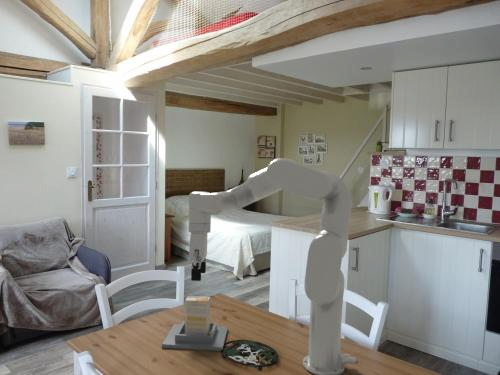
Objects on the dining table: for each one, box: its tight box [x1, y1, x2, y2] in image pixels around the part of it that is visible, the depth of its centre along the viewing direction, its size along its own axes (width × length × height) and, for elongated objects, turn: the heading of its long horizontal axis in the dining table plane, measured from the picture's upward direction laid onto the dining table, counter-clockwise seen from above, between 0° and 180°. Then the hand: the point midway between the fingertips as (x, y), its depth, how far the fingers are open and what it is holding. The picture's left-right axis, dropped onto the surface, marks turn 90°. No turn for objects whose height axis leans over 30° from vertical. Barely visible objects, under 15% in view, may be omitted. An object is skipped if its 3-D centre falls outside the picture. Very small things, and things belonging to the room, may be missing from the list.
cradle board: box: [161, 320, 229, 352], centre depth 140 cm, size 20×17×4 cm
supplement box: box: [184, 295, 211, 336], centre depth 140 cm, size 8×5×13 cm, turn 86°
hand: (198, 276), depth 139 cm, fingers open, 9 cm apart
